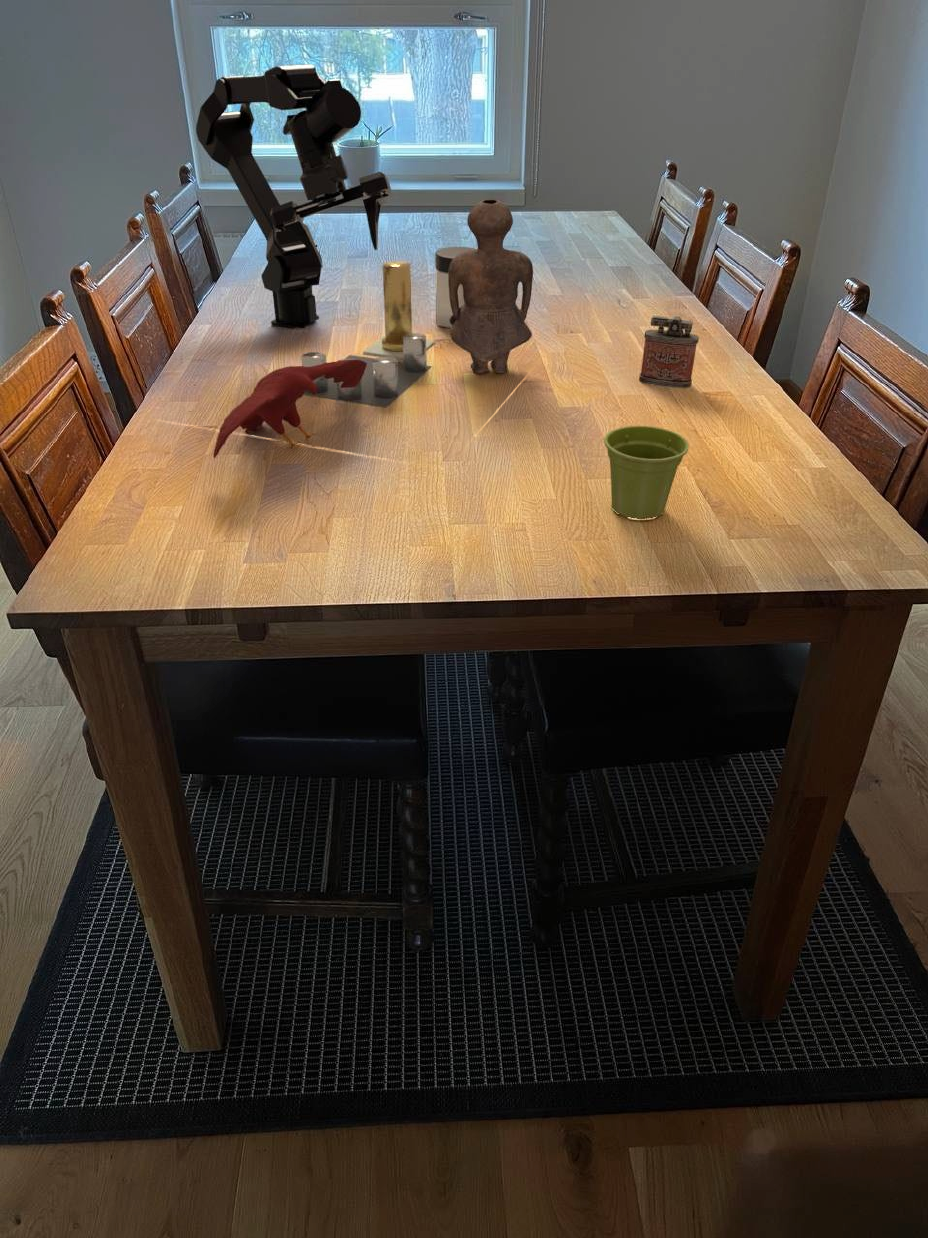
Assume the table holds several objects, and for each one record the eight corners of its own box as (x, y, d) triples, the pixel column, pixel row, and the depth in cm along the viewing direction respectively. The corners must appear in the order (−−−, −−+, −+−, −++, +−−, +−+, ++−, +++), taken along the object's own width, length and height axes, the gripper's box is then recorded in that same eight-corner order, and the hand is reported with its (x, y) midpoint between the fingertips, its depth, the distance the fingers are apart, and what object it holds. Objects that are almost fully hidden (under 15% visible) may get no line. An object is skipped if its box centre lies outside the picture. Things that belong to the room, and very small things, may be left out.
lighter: (692, 382, 142) (703, 317, 136) (689, 389, 139) (700, 323, 133) (640, 375, 144) (648, 311, 138) (636, 382, 141) (645, 317, 135)
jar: (449, 332, 160) (449, 260, 153) (425, 319, 165) (424, 250, 158) (491, 323, 164) (493, 253, 157) (466, 311, 169) (467, 243, 162)
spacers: (297, 393, 135) (294, 360, 133) (349, 354, 149) (347, 324, 146) (384, 406, 132) (383, 373, 129) (430, 366, 145) (429, 334, 142)
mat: (297, 395, 136) (297, 393, 135) (349, 356, 149) (349, 354, 149) (386, 409, 132) (386, 407, 131) (431, 368, 145) (431, 366, 145)
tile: (363, 355, 150) (363, 351, 150) (385, 338, 157) (385, 334, 156) (413, 362, 147) (413, 358, 147) (434, 344, 154) (434, 341, 154)
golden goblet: (382, 352, 149) (378, 269, 142) (381, 340, 154) (378, 260, 146) (416, 351, 150) (414, 269, 142) (415, 340, 154) (413, 259, 147)
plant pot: (590, 492, 111) (596, 425, 106) (665, 489, 112) (676, 423, 107) (606, 530, 104) (614, 460, 99) (687, 527, 105) (699, 458, 100)
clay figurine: (527, 359, 149) (535, 193, 135) (532, 381, 141) (542, 207, 126) (447, 359, 149) (447, 192, 134) (448, 382, 141) (448, 207, 126)
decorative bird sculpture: (206, 509, 116) (256, 447, 105) (159, 451, 115) (204, 383, 104) (344, 432, 136) (398, 373, 125) (305, 381, 135) (355, 318, 124)
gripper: (245, 163, 134) (281, 272, 138) (365, 121, 132) (398, 233, 135) (265, 177, 145) (297, 278, 149) (376, 139, 142) (406, 242, 146)
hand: (348, 258), depth 144 cm, fingers open, 9 cm apart
